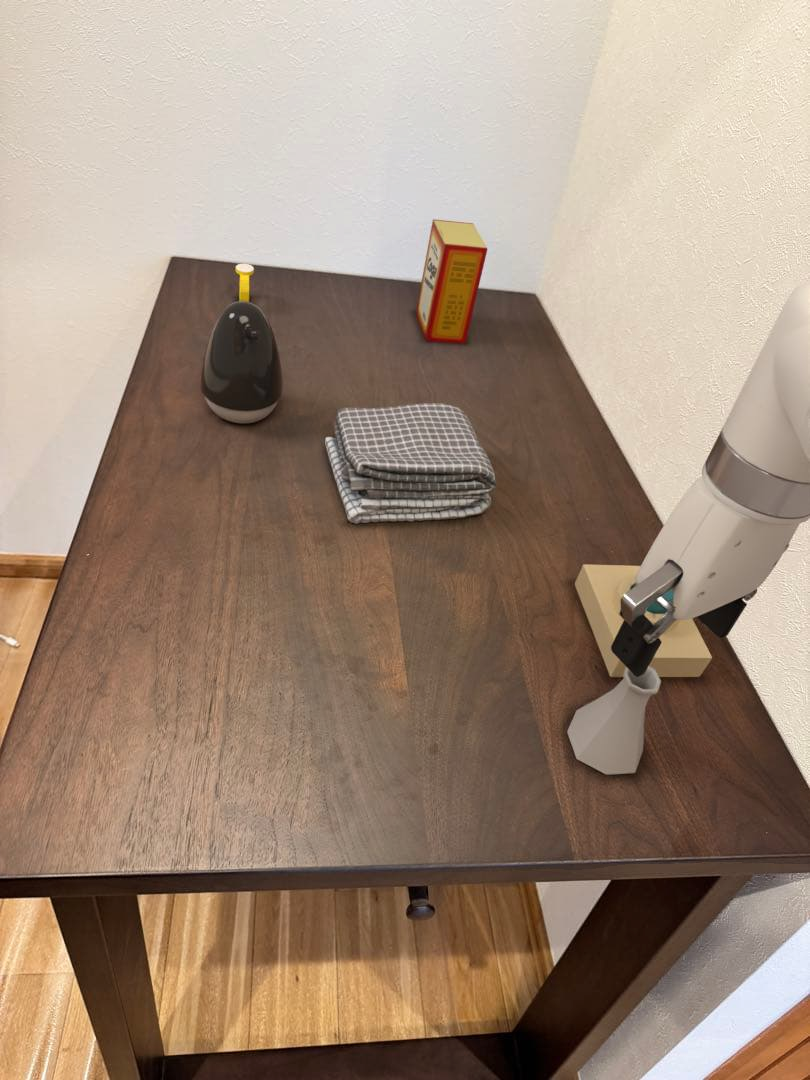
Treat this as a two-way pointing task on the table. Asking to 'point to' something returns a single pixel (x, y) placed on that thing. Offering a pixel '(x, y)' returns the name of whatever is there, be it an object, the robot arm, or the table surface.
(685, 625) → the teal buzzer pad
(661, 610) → the teal disc
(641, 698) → the flask
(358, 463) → the towel
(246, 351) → the black egg shape
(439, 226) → the baking soda box
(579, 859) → the table surface
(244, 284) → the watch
